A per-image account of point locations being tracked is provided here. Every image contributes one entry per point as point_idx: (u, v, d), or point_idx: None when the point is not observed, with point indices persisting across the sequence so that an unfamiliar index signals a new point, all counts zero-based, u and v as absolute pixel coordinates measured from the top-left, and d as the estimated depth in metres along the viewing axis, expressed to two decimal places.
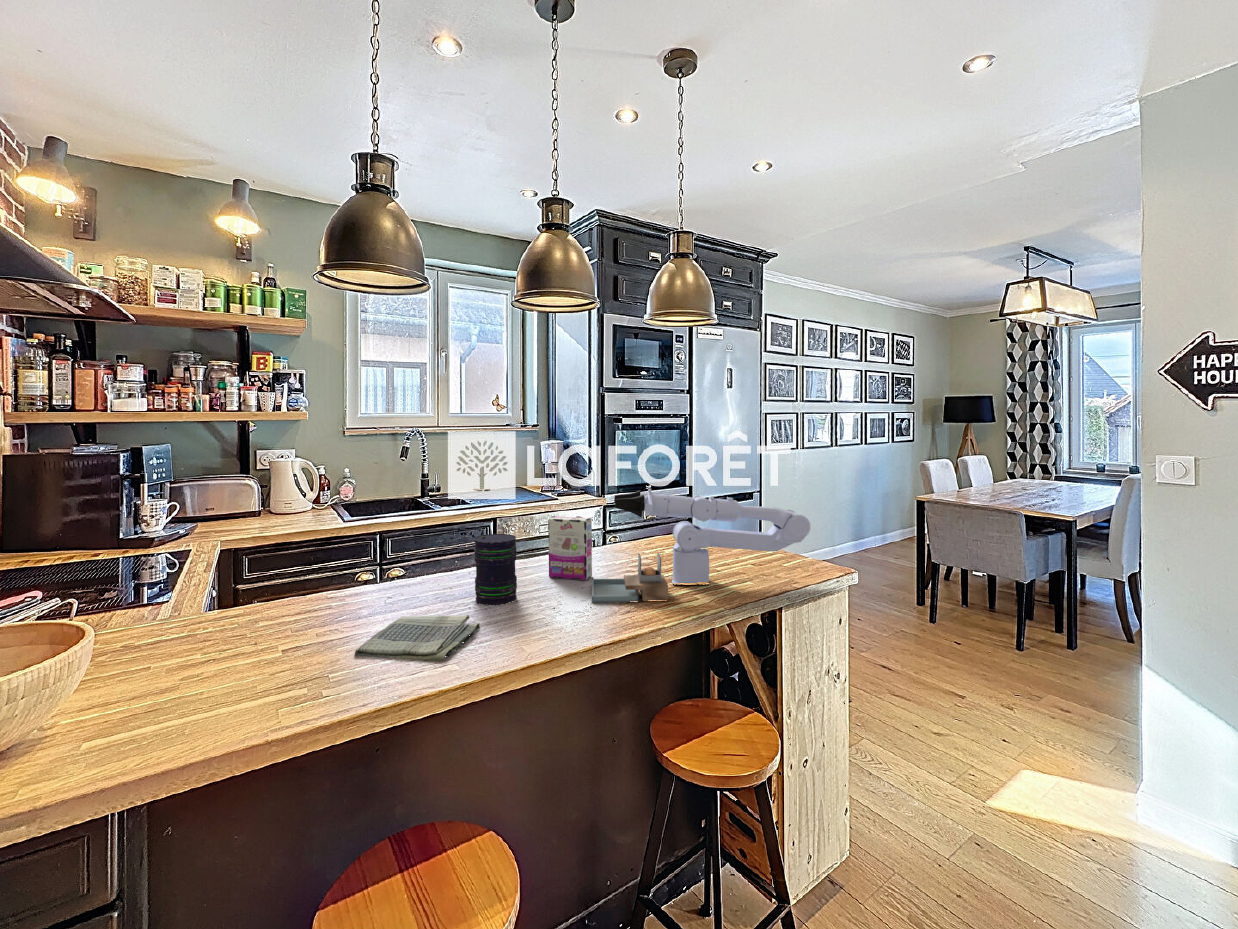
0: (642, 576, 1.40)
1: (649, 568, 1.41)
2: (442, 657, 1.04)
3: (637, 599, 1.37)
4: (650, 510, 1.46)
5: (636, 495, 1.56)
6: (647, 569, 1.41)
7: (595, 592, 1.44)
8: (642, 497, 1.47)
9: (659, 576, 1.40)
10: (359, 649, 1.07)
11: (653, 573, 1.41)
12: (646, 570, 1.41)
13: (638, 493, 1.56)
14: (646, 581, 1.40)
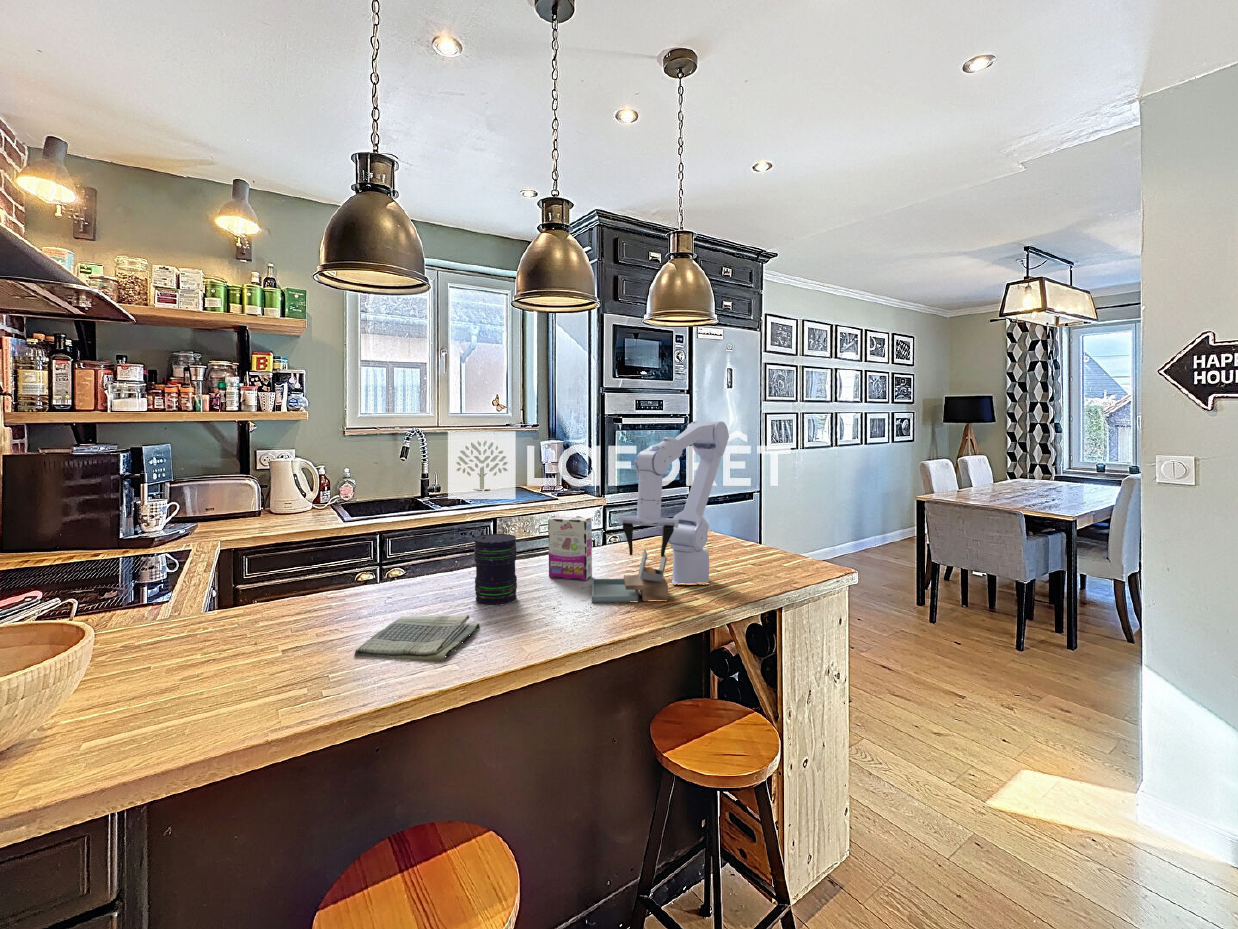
0: (644, 572, 1.40)
1: (649, 568, 1.41)
2: (442, 657, 1.04)
3: (637, 599, 1.37)
4: None
5: (632, 531, 1.40)
6: (647, 569, 1.41)
7: (595, 592, 1.44)
8: (672, 531, 1.39)
9: (661, 576, 1.40)
10: (359, 649, 1.07)
11: None
12: (646, 570, 1.41)
13: (632, 529, 1.40)
14: (647, 578, 1.40)
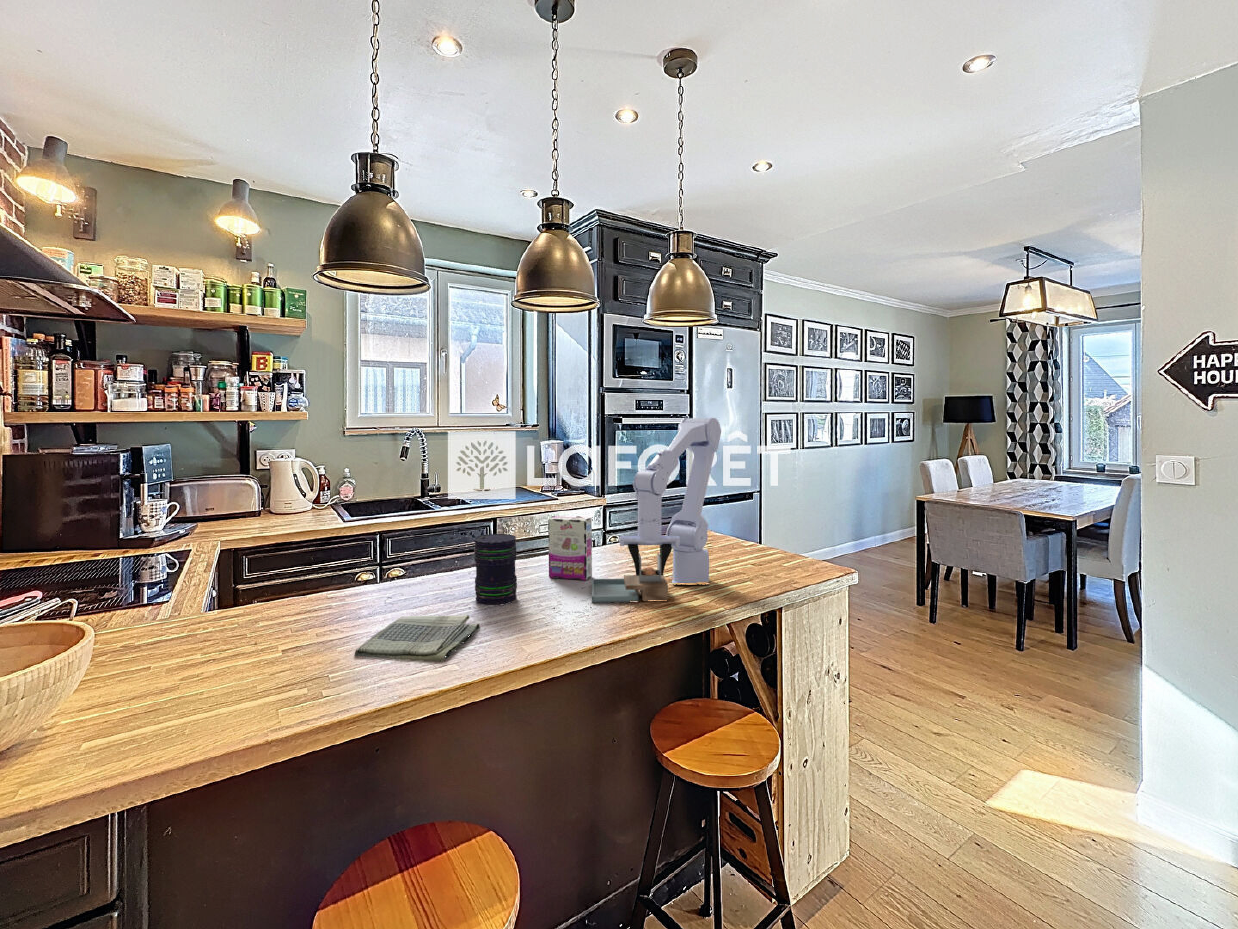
0: (642, 576, 1.40)
1: (649, 568, 1.41)
2: (442, 657, 1.04)
3: (637, 599, 1.37)
4: None
5: (638, 552, 1.40)
6: (647, 569, 1.41)
7: (595, 592, 1.44)
8: (671, 549, 1.39)
9: (659, 576, 1.40)
10: (359, 649, 1.07)
11: (653, 573, 1.41)
12: (646, 570, 1.41)
13: (638, 551, 1.39)
14: (646, 581, 1.40)
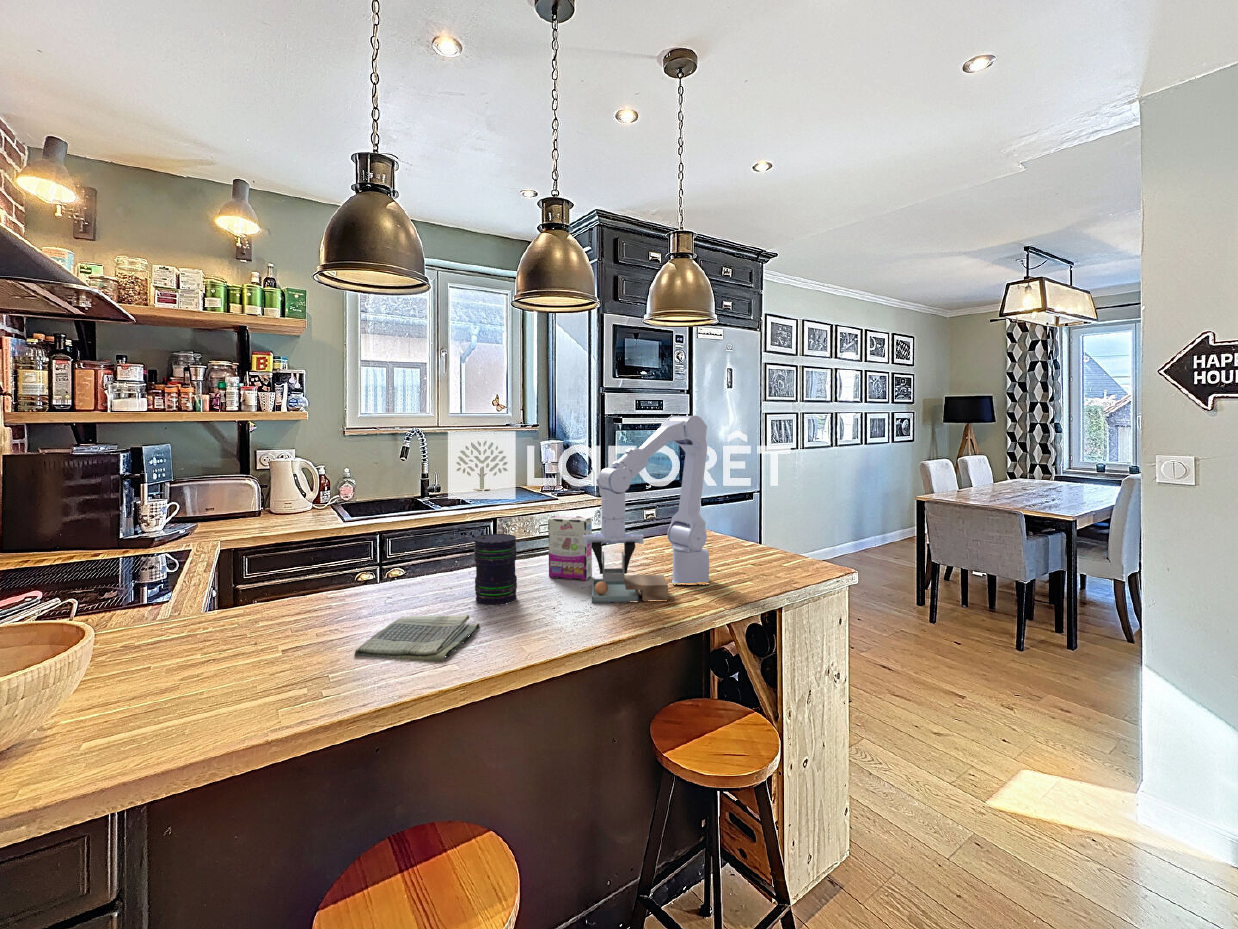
0: (605, 574, 1.39)
1: (595, 589, 1.41)
2: (442, 657, 1.04)
3: (637, 599, 1.37)
4: None
5: (601, 550, 1.40)
6: (596, 591, 1.41)
7: (595, 592, 1.44)
8: (634, 548, 1.39)
9: (622, 574, 1.39)
10: (359, 649, 1.07)
11: (600, 586, 1.41)
12: (597, 592, 1.41)
13: None
14: (609, 579, 1.39)
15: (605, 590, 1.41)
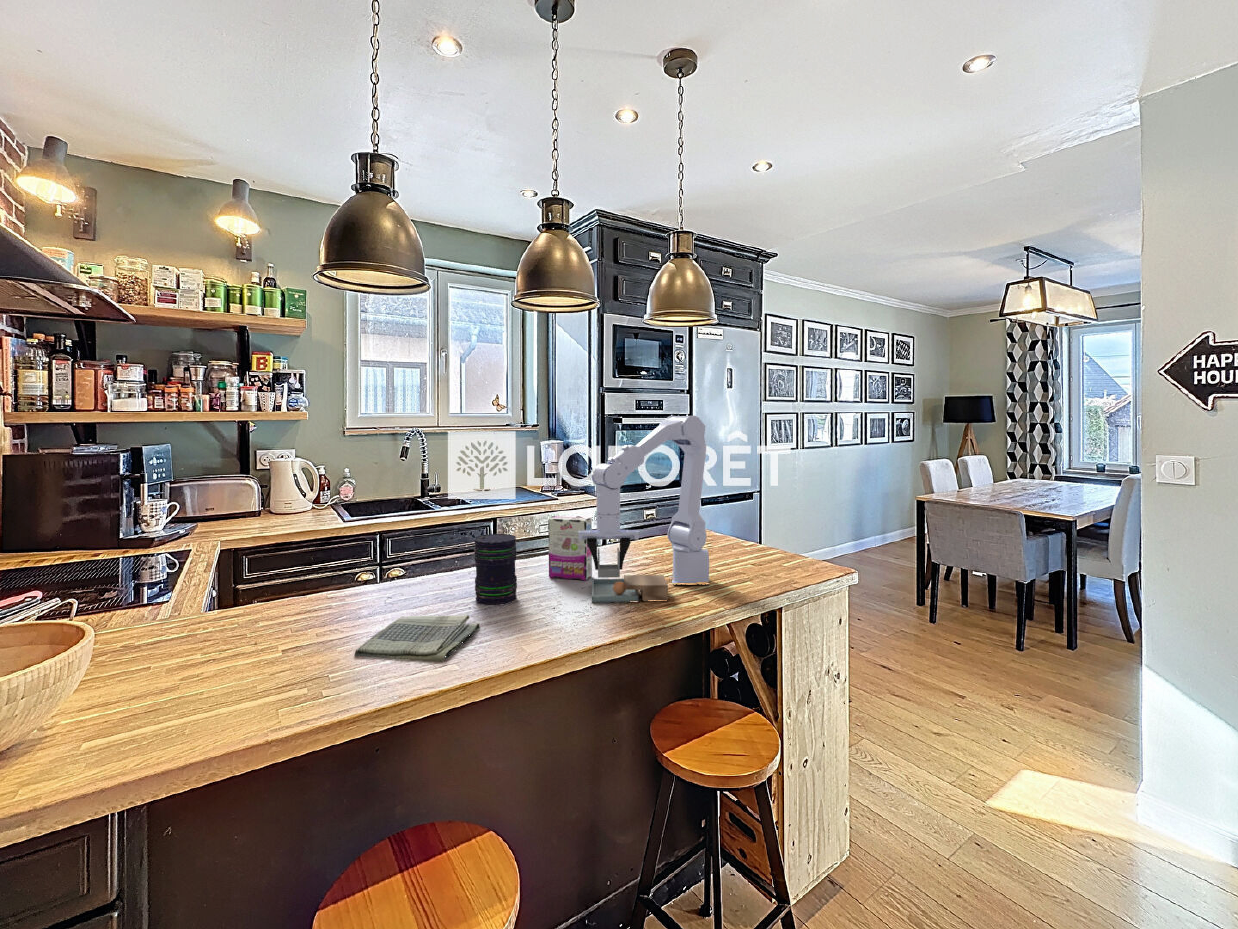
0: (600, 570, 1.39)
1: (624, 586, 1.42)
2: (442, 657, 1.04)
3: (637, 599, 1.37)
4: None
5: None
6: (623, 584, 1.41)
7: (595, 592, 1.44)
8: (629, 543, 1.39)
9: (618, 570, 1.39)
10: (359, 649, 1.07)
11: (622, 592, 1.41)
12: (622, 584, 1.41)
13: None
14: (604, 575, 1.39)
15: (615, 590, 1.41)
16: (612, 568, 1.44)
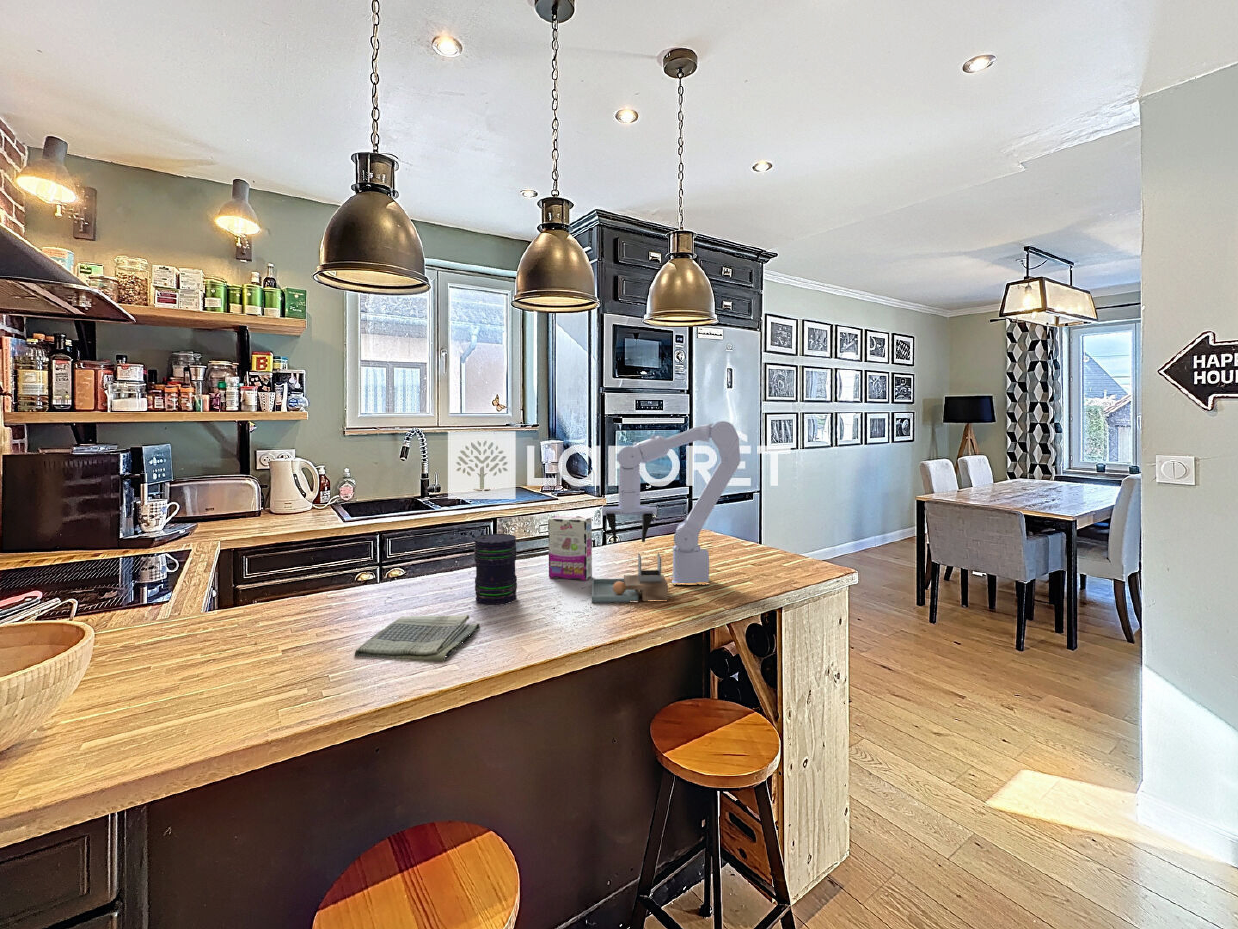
0: (642, 576, 1.40)
1: (624, 586, 1.42)
2: (442, 657, 1.04)
3: (637, 599, 1.37)
4: None
5: (615, 521, 1.54)
6: (623, 584, 1.41)
7: (595, 592, 1.44)
8: (652, 518, 1.54)
9: (659, 576, 1.40)
10: (359, 649, 1.06)
11: (622, 592, 1.41)
12: (622, 584, 1.41)
13: (615, 519, 1.54)
14: (646, 581, 1.40)
15: (615, 590, 1.41)
16: (652, 574, 1.44)
